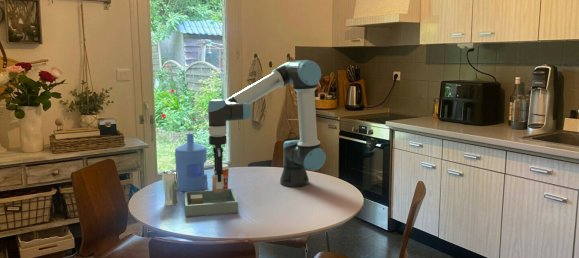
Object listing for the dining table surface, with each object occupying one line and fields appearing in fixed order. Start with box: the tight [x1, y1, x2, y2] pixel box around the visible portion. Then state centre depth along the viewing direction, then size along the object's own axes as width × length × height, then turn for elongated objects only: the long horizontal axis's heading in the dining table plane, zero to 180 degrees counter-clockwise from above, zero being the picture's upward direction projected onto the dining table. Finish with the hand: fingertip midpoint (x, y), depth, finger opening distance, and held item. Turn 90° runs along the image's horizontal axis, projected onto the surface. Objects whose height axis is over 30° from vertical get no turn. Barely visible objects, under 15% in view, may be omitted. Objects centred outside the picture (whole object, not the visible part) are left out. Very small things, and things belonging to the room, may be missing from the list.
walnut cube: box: [191, 194, 203, 205], centre depth 196 cm, size 5×5×5 cm
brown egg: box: [211, 174, 224, 193], centre depth 197 cm, size 5×5×7 cm
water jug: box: [174, 133, 209, 193], centre depth 226 cm, size 16×16×28 cm
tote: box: [184, 188, 239, 218], centre depth 198 cm, size 22×20×5 cm
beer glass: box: [161, 169, 179, 207], centre depth 202 cm, size 7×7×15 cm
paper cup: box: [212, 163, 230, 189], centre depth 218 cm, size 8×8×14 cm
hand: (218, 186), depth 198 cm, fingers closed on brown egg, 5 cm apart
